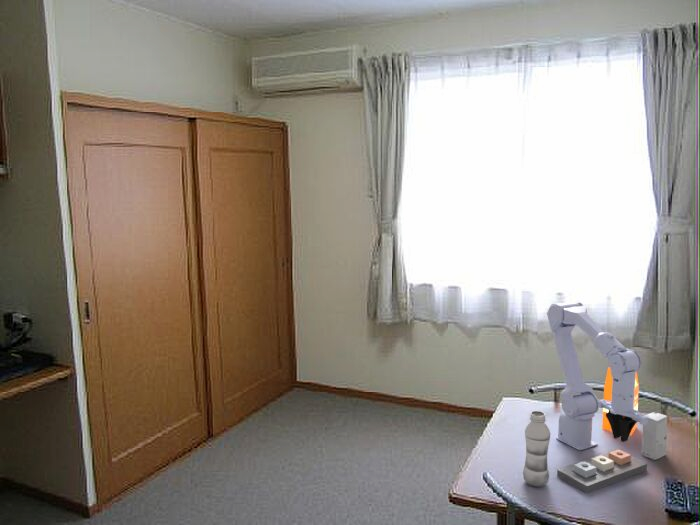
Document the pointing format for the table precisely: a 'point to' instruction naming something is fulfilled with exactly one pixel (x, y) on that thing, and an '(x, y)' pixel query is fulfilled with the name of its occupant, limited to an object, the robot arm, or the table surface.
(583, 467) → the grey blue key
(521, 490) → the table surface
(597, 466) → the cream key
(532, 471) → the plastic bottle
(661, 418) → the skincare box
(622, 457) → the terracotta key
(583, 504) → the table surface
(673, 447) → the table surface
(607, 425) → the orange juice
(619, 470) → the keypad
